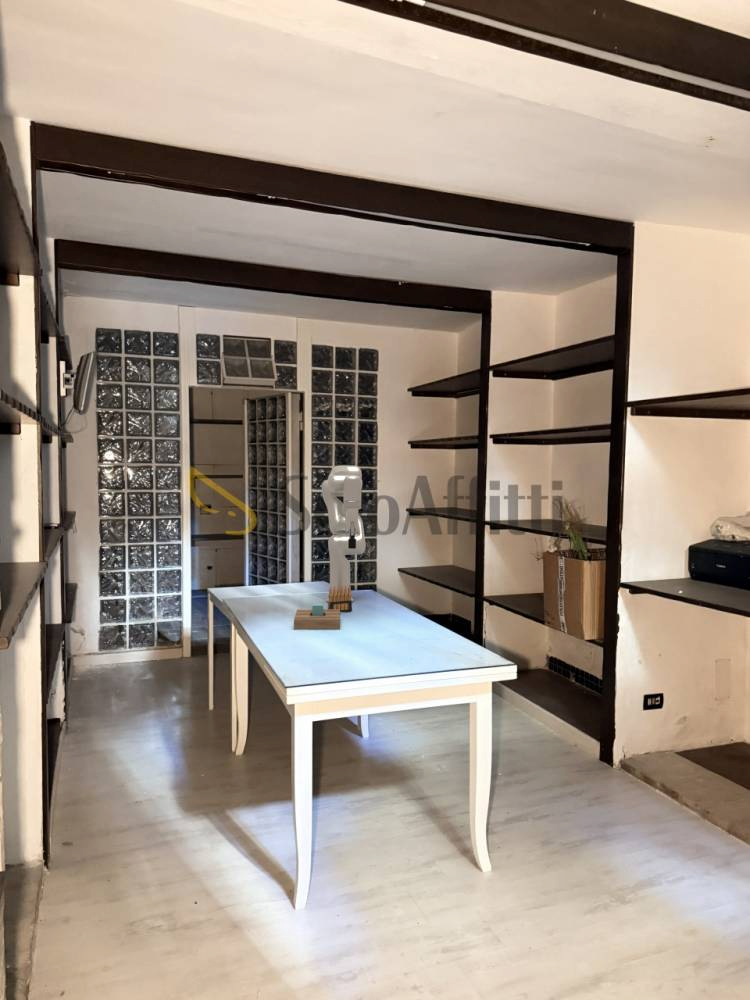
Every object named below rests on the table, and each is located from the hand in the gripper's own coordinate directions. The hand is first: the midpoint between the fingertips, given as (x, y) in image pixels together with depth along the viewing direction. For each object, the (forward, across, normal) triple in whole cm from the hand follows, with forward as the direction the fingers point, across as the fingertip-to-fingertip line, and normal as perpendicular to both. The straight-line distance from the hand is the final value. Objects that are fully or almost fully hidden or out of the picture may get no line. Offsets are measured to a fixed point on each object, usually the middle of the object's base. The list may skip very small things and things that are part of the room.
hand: (352, 548), depth 287 cm
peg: (+29, +14, -14) cm, 35 cm away
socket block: (+29, +14, -14) cm, 35 cm away
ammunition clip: (+29, -7, -5) cm, 31 cm away
